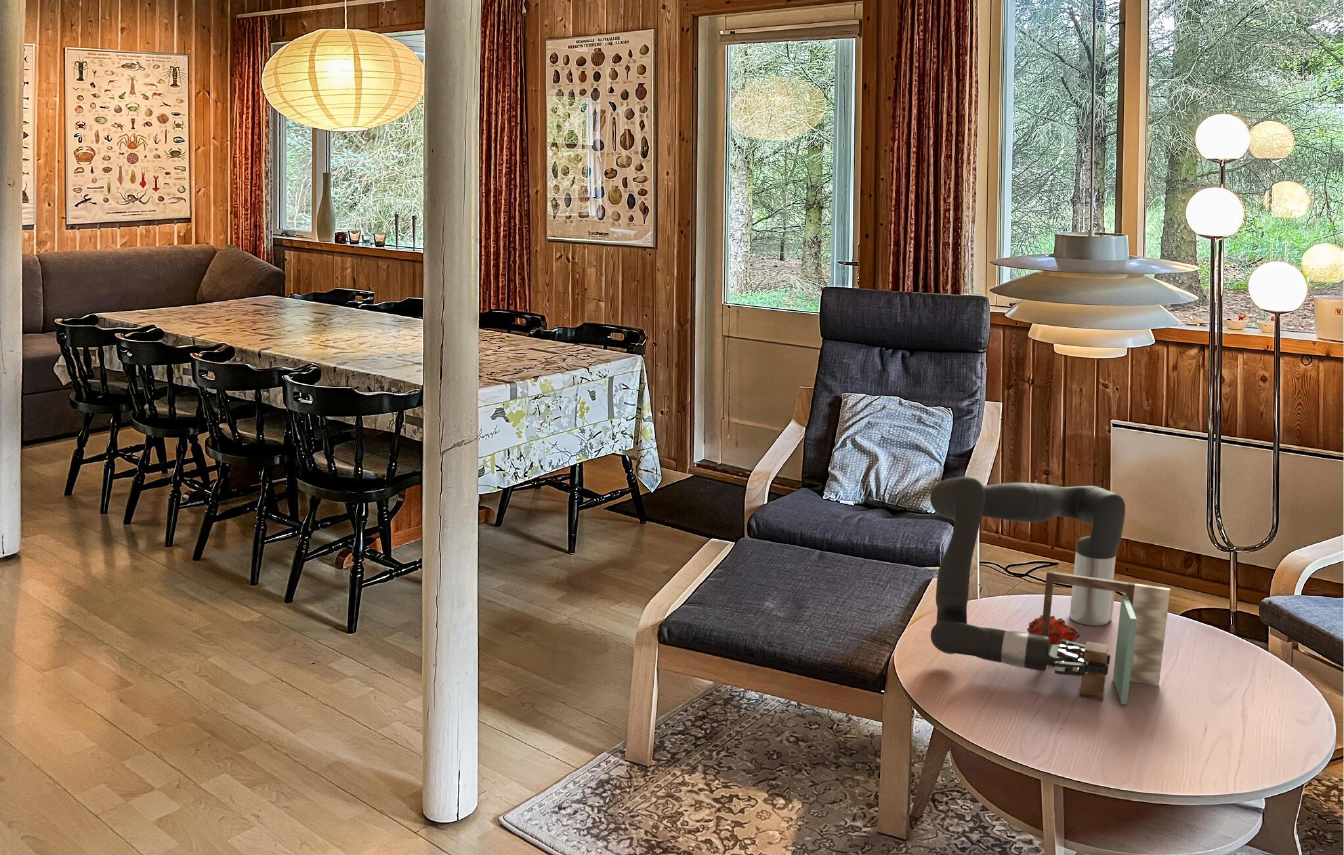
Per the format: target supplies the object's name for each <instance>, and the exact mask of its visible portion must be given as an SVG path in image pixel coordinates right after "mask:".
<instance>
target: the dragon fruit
mask: <svg viewBox="0 0 1344 855" xmlns="http://www.w3.org/2000/svg"><path fill="white" fill-rule="evenodd" d="M1042 619H1043V614H1040V615H1039V617H1036V618H1034V620H1032V621H1031V622H1029V623H1028V627H1027V629H1026V631H1027V633H1031V634H1037V635H1041V630H1042ZM1048 637H1049V638H1050V644H1059V645H1061V641H1062V640H1068V641H1072V642H1076V641H1077V640H1078V639H1079V638H1080V634H1079V631H1078V630H1077V629H1076V628H1075V627H1073V626H1070V625H1068V624H1066V621H1065V619H1063V617H1062V618H1060V617H1059V618H1056V617H1055V616H1054V615H1052V616H1051V615H1050V625H1049V635H1048Z"/></svg>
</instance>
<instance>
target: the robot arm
mask: <svg viewBox="0 0 1344 855" xmlns="http://www.w3.org/2000/svg"><path fill="white" fill-rule="evenodd" d="M929 500H930V504H931V507H932V508H933V510H934V511H935V513H936V514H938V515H939V516H941V517H943V518H946V519H951V520H954V521H953V522H954V524H953V530H952V535H951V538H950V541H949V543H948V546H947V547H946V550H945V552H944V555H943V557H942V559H941V561H940V565H939V567H938V570H937V577H936V589H935V604H936V608H937V611H936V612H937V614H936V623H935V624H934V625H933V626H932V629H931V631H930V640H931V643H932V644H933V646H934V647H935V648H936V649H937V650H938V651H940V652H942V653H944V654H947V655H948V654H949V655H964V656H971V657H976V658H978V659H981V660H984V661H989V662H995V663H1001V664H1005V665H1009V666H1011V667H1016V668H1022V669H1029V670H1034V671H1039V672H1046V670H1047V669H1048V666H1050V667H1052V668H1054V674H1055V675H1061V676H1062V675H1064V676H1076V677H1082V676H1084V673H1088V672H1091V673H1097V674H1102V675H1105V676H1106V675H1108V673H1109V665H1110V662H1111V655H1110V654H1109V653H1108V657H1107V664H1104V663H1098V662H1092V661H1090V663H1089V661H1087V660H1084V651H1085V646H1086V644H1085V643H1084V644H1083V643H1079V642H1076V641H1074V642H1072V641H1068V640H1062V641H1061V645H1059V644H1050V638H1049V637H1048V636H1043V635H1037V634H1031V633H1028V632H1023V631H1017V630H1004V629H999V628H992V627H982V626H977V625H972V624H970V623H969V624H968V613H967V612H968V611H967V610H968V609H967V607H968V602H969V590H970V577H971V576H970V575H971V567H972V561H973V560H972V559H973V556H974V550H975V547H976V543H977V538H978V536H979V530H980V526H981V523H982V522H981V521H982V519H983V518H990V519H991V518H992V519H997V520H1004V521H1013V522H1019V523H1020V522H1021V523H1043V522H1048V521H1049V520H1052V519H1053V518H1055V517H1056V518H1057V517H1060V518H1061V517H1062V518H1070V519H1074V520H1079V521H1081V522H1083V523H1086V524H1089V525H1091V533H1090V535H1088V536H1081V537H1080V538H1078V539H1077V541H1076V544H1075V545H1076V546H1075V547H1076V548H1075V556H1074V567H1073V568H1074V570H1073V575H1079V576H1086V577H1093V578H1100V579H1107V580H1114V575H1115V567H1116V566H1115V565H1116V558H1117V550H1118V549H1119V546H1120V544H1121V541H1122V536H1123V530H1124V523H1125V517H1126V504H1125V501H1124V498H1123V497H1122V496H1121V495H1120V494H1118V493H1116V492H1114V491H1110V490H1108V489H1105V488H1102V487H1100V486H1096V485H1081V486H1080V485H1078V486H1057V485H1054V484H1053V485H1051V484H1045V483H1043V484H1042V483H1037V482H1036V483H1035V482H1004V483H995V484H993V483H992V484H985V485H983V484H982V483H981V481H980V480H978V478H976V477H973V476H969V475H965V476H959V477H951V478H947V479H943V480H941V481H939V482H938V483H937V484H936V485H934V487H933V488H932V490H931V492H930V498H929ZM982 517H983V518H982ZM1115 594H1116V591H1109V590H1103V589H1096V588H1089V587H1082V586H1075V585H1072V588H1071V599H1070V608H1069V618H1070V619H1071V620H1072V621H1074V622H1075V623H1078V624H1082V625H1087V626H1094V627H1095V626H1096V627H1097V626H1105V625H1107V624H1108V623H1109V622H1110V621H1112V620H1113V612H1114V604H1115V603H1114V602H1115Z"/></svg>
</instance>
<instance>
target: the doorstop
mask: <svg viewBox="0 0 1344 855" xmlns="http://www.w3.org/2000/svg"><path fill="white" fill-rule="evenodd" d="M1085 645H1086V646H1085V651H1084V660H1087V661H1089V663H1090V661H1092V662H1098V663H1104V664H1107V657H1108V654H1109V647H1110V646H1109V644H1105V643H1098V642H1093V641H1087V640H1086V642H1085ZM1105 683H1106V675H1102V674H1097V673H1091V672H1088V673H1084V676H1081V681H1080V688H1079V692H1078V693H1079V694H1078V697H1079V698H1083V699H1088V700H1095V701H1099V702H1103V701H1104V698H1105V691H1106V690H1105V689H1106V688H1105Z"/></svg>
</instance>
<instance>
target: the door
mask: <svg viewBox="0 0 1344 855" xmlns="http://www.w3.org/2000/svg"><path fill="white" fill-rule="evenodd" d="M1119 607H1120V610H1119V618H1118V628H1117V636H1116V637H1117V638H1116V646H1115V652H1114V653H1115V656H1114V665H1113V671H1112V672H1113V673H1112V674H1113V675H1112V678H1113V681H1114V682H1113V683H1114V684H1115V687H1116V688H1115V689H1116V692H1117V695H1118V698H1119V701H1120V704H1121V705H1128V701H1129V691H1130V690H1129V689H1130V684H1131V681H1130V674H1131V665H1132V663H1136V662H1137V655H1133V647H1134V638H1135V629H1136V620H1137V619H1136V616H1135V614H1134V611H1133V608H1132V606H1131V603H1130V601H1129V598H1128V596H1126V595H1122V594H1121V600H1120V606H1119Z"/></svg>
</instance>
